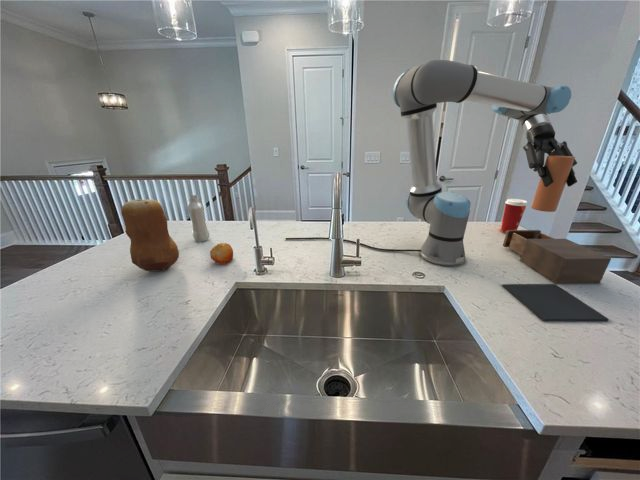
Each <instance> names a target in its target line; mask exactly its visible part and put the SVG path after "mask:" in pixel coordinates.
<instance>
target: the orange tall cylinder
mask: <svg viewBox="0 0 640 480" xmlns="http://www.w3.org/2000/svg"><path fill="white" fill-rule="evenodd" d="M574 159H575V160H576V157H575V156H574V155H573V156H549V155H546V159H545V160H544V166H547V167H548V169H549V172H550V174H551V177H552V179H553V183H551V184H550V185H549V186H547V187H545V186H544V184H543V181H542V178H541V177H540V176H539V181H538V184H537V187H536V190H535V194H534V197H533V199H532V203H531V206H530V208H531V209H532V210H535V211H539V212H545V213H554V212H557V209H558V207H559V203H560V201H561V198H562V195H563V192H564V190H565V186H566V185H567V183H566V181H567V179H568V176H569V173H570V170H571V167H572V165H573V162H574ZM544 166H543V167H544ZM572 168H573V167H572Z"/></svg>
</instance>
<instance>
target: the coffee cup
mask: <svg viewBox="0 0 640 480" xmlns="http://www.w3.org/2000/svg"><path fill="white" fill-rule="evenodd" d="M504 203H505V205H504V211H503V215H502V221H501V225H500V232H501V233H502V234H505V232H506V231H507V230H519V229H518V228H519V226H520V223H521V221H522V218H523V215H524V213H525V210H526V207H527V206H528V201H527V200H525V199H519V198H507V199H506V201H505V202H504Z"/></svg>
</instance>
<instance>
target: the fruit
mask: <svg viewBox="0 0 640 480" xmlns="http://www.w3.org/2000/svg"><path fill="white" fill-rule="evenodd" d="M209 256H210V259H211V260H212V261H213V262H214V263H216V264H219V265H228V264H230V263H231V262H232V261H233V259H234V249H233V248H232V245H231V244H230V243H226V242H220V243H217V244H216V245H214V246H213V247H212V248H211V250H210V251H209Z"/></svg>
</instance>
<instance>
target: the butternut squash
mask: <svg viewBox="0 0 640 480" xmlns="http://www.w3.org/2000/svg"><path fill="white" fill-rule="evenodd" d="M120 213H121V216H122V219H123V222H124V226H125V235H127V237H128V238H129V239H130V247H129V253H130V258H131V263H132V264H134V266H136V267H138V268H139V269H141V270H143V271H146V272H154V271H158V272H163V271H164V270H168V269H169V268H170V267H171V266H174V264H175V263H176V262H177V261H178V259H179V256H180V252H179V248H178V245H177V242H176V241H175V240H174V239H173V237H172V236H171V235H170V233H169V229H168V228H169V227H168V219H167V217H166V216H167V215H166V213H165V210H164V208H163V206H162V204H161V203H160V202H159V201H158V200H156V199H152V198H151V199H140V198H138V199H137V198H136V199H131V200H129V201H126V202H125V203H124V204H123V205H122V207H121V212H120Z"/></svg>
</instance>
